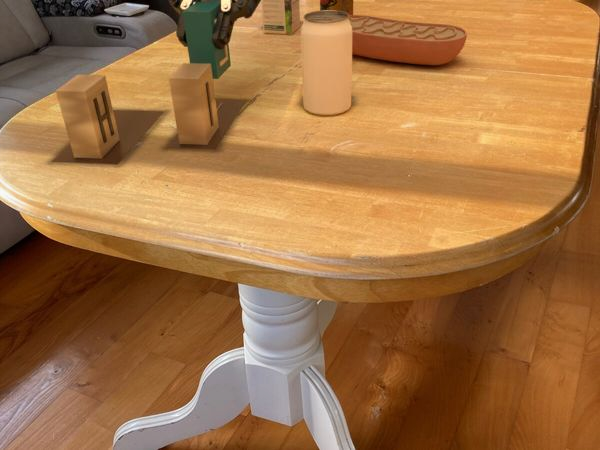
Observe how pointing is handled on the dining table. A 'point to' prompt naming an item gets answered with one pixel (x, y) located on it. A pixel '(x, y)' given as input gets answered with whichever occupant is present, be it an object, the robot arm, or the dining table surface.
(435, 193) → the dining table surface
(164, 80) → the dining table surface
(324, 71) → the can
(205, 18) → the green alphabet block
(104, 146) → the block
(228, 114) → the slotted tan block
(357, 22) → the orange elongated oval dish
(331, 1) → the condiment
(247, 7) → the robot arm
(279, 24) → the syrup box
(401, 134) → the dining table surface
